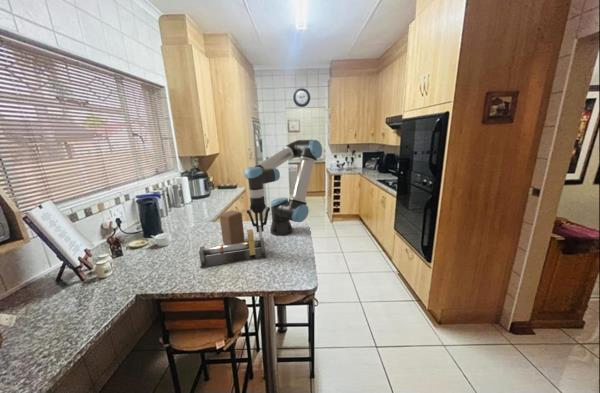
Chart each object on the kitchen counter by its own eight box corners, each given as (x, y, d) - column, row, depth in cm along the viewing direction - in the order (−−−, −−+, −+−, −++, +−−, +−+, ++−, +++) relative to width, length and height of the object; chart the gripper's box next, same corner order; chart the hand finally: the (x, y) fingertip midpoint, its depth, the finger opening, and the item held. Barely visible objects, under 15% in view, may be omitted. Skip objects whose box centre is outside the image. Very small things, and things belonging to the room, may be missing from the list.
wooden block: (232, 248, 150) (228, 216, 144) (222, 244, 155) (218, 213, 150) (245, 241, 157) (242, 212, 152) (235, 238, 163) (231, 209, 158)
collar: (254, 248, 144) (252, 228, 141) (255, 254, 136) (253, 233, 133) (248, 249, 143) (246, 229, 140) (249, 255, 135) (247, 234, 132)
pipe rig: (263, 248, 147) (262, 235, 145) (266, 257, 136) (264, 243, 134) (203, 257, 139) (201, 244, 137) (200, 268, 128) (198, 254, 126)
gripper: (268, 193, 138) (271, 233, 144) (244, 196, 135) (248, 236, 141) (270, 196, 131) (273, 238, 137) (245, 199, 128) (249, 241, 134)
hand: (260, 237), depth 139 cm, fingers closed
